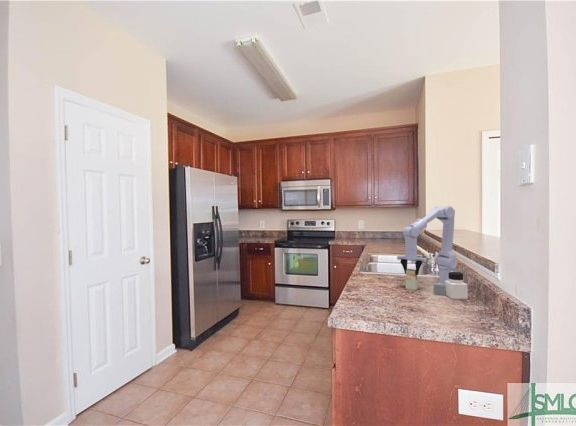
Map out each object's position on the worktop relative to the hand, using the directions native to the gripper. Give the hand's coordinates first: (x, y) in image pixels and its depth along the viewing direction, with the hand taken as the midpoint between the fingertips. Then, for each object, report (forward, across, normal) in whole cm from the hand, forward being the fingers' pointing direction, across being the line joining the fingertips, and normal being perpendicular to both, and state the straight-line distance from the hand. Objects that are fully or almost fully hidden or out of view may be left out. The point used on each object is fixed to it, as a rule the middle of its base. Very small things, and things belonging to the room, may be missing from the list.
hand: (411, 274), depth 151 cm
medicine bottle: (+8, +21, -4) cm, 23 cm away
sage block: (+8, 0, 0) cm, 8 cm away
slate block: (+8, +14, -3) cm, 16 cm away
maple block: (+3, 0, 0) cm, 3 cm away
